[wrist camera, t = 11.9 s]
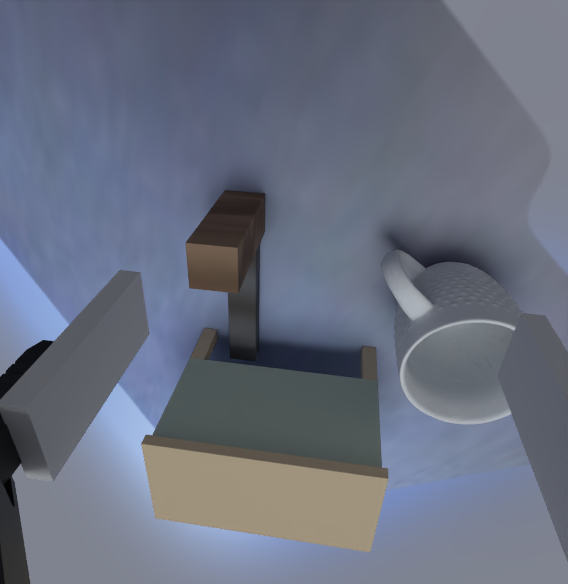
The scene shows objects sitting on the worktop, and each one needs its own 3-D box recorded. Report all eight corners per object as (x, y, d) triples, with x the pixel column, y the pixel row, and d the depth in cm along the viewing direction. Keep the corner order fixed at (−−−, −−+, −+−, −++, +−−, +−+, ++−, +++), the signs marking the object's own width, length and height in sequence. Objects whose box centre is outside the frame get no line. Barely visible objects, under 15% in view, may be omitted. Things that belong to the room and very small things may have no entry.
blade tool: (224, 190, 45) (185, 242, 34) (265, 193, 44) (237, 247, 34) (230, 347, 55) (200, 423, 45) (262, 351, 54) (240, 428, 44)
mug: (342, 264, 47) (336, 341, 36) (429, 191, 42) (454, 255, 31) (434, 350, 51) (455, 444, 40) (525, 293, 46) (577, 383, 35)
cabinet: (201, 324, 54) (141, 443, 39) (379, 345, 52) (388, 478, 37) (206, 396, 60) (156, 523, 45) (366, 417, 58) (368, 556, 43)
